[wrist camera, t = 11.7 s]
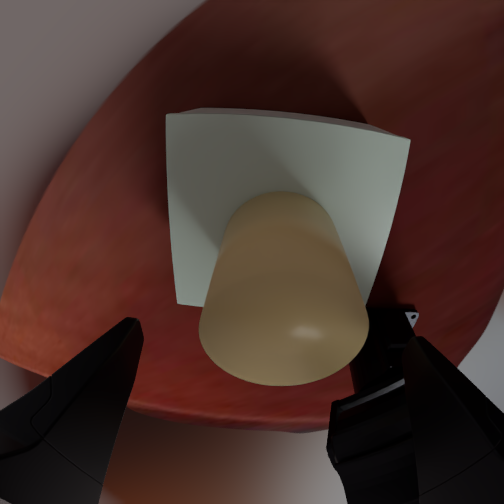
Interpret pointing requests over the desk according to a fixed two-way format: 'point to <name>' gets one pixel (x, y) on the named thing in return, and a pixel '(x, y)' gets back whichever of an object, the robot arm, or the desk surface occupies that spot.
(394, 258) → the desk surface
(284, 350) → the beige rounded cylinder
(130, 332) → the robot arm
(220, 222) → the box lid
